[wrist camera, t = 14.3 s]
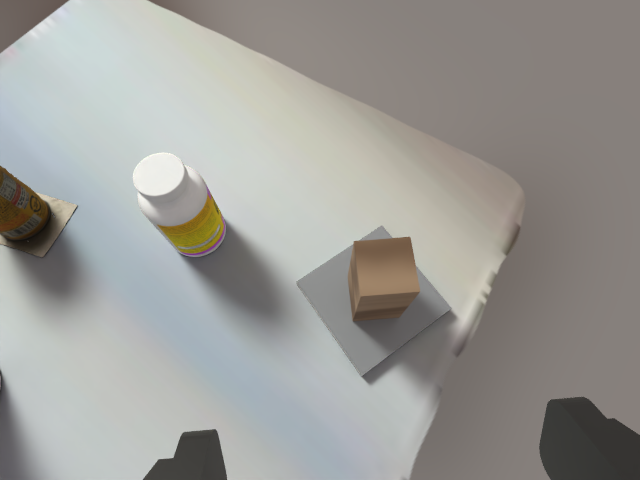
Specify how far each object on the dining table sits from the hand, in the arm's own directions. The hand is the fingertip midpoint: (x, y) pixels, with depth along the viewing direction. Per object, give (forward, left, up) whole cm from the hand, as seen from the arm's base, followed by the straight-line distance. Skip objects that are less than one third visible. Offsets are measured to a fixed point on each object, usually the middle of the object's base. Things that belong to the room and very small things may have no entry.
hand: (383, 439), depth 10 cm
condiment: (-18, +39, -33) cm, 54 cm away
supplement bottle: (-2, +26, -33) cm, 42 cm away
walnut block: (+10, +8, -32) cm, 34 cm away
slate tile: (+10, +8, -33) cm, 35 cm away
